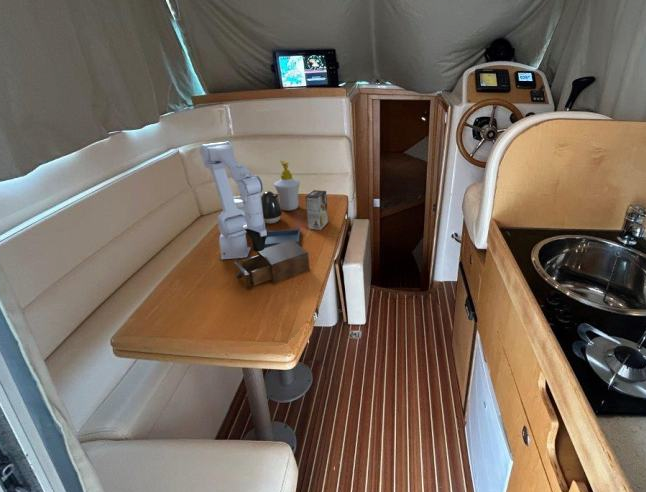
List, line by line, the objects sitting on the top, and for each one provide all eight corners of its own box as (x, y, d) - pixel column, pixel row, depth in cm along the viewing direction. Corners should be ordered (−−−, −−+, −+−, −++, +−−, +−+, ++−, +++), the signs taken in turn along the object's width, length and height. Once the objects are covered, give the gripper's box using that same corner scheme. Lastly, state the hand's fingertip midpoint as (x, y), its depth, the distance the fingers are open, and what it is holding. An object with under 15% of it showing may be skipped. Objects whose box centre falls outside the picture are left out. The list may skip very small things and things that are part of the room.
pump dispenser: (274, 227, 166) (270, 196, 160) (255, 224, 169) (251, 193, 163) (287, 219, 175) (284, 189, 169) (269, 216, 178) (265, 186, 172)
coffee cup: (257, 229, 164) (253, 198, 158) (239, 237, 156) (234, 205, 151) (243, 224, 168) (239, 194, 163) (225, 231, 161) (220, 200, 155)
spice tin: (251, 252, 125) (249, 239, 123) (253, 246, 128) (251, 234, 126) (263, 251, 125) (262, 238, 124) (265, 245, 129) (263, 233, 127)
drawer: (243, 291, 118) (241, 276, 116) (232, 276, 126) (229, 262, 124) (283, 276, 126) (281, 262, 124) (270, 263, 134) (268, 250, 132)
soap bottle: (295, 202, 196) (291, 158, 187) (306, 209, 187) (302, 163, 178) (272, 207, 188) (267, 161, 180) (282, 214, 179) (277, 167, 170)
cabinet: (274, 283, 124) (271, 264, 121) (259, 268, 133) (257, 250, 130) (309, 270, 132) (308, 252, 129) (293, 256, 141) (292, 239, 138)
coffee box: (316, 220, 173) (313, 189, 167) (328, 222, 172) (326, 190, 166) (307, 228, 165) (305, 196, 159) (321, 230, 164) (318, 197, 158)
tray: (257, 248, 147) (257, 244, 146) (262, 235, 158) (261, 231, 157) (298, 245, 150) (298, 241, 149) (300, 233, 161) (300, 229, 160)
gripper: (234, 208, 124) (239, 242, 129) (249, 221, 114) (254, 259, 119) (254, 203, 129) (259, 237, 134) (271, 216, 118) (275, 252, 123)
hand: (258, 247), depth 127 cm, fingers closed on spice tin, 4 cm apart
